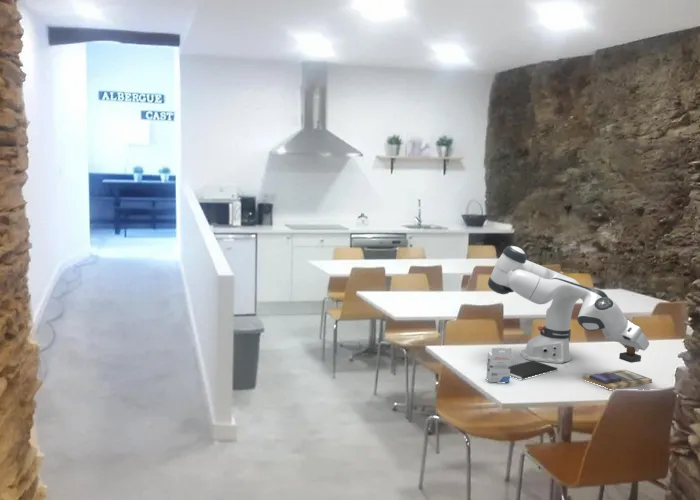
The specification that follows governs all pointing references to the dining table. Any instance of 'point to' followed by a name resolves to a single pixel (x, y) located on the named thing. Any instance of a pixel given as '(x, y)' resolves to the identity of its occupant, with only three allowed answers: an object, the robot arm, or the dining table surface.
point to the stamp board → (617, 379)
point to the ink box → (499, 365)
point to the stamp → (630, 355)
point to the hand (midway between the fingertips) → (632, 348)
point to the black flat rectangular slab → (529, 369)
